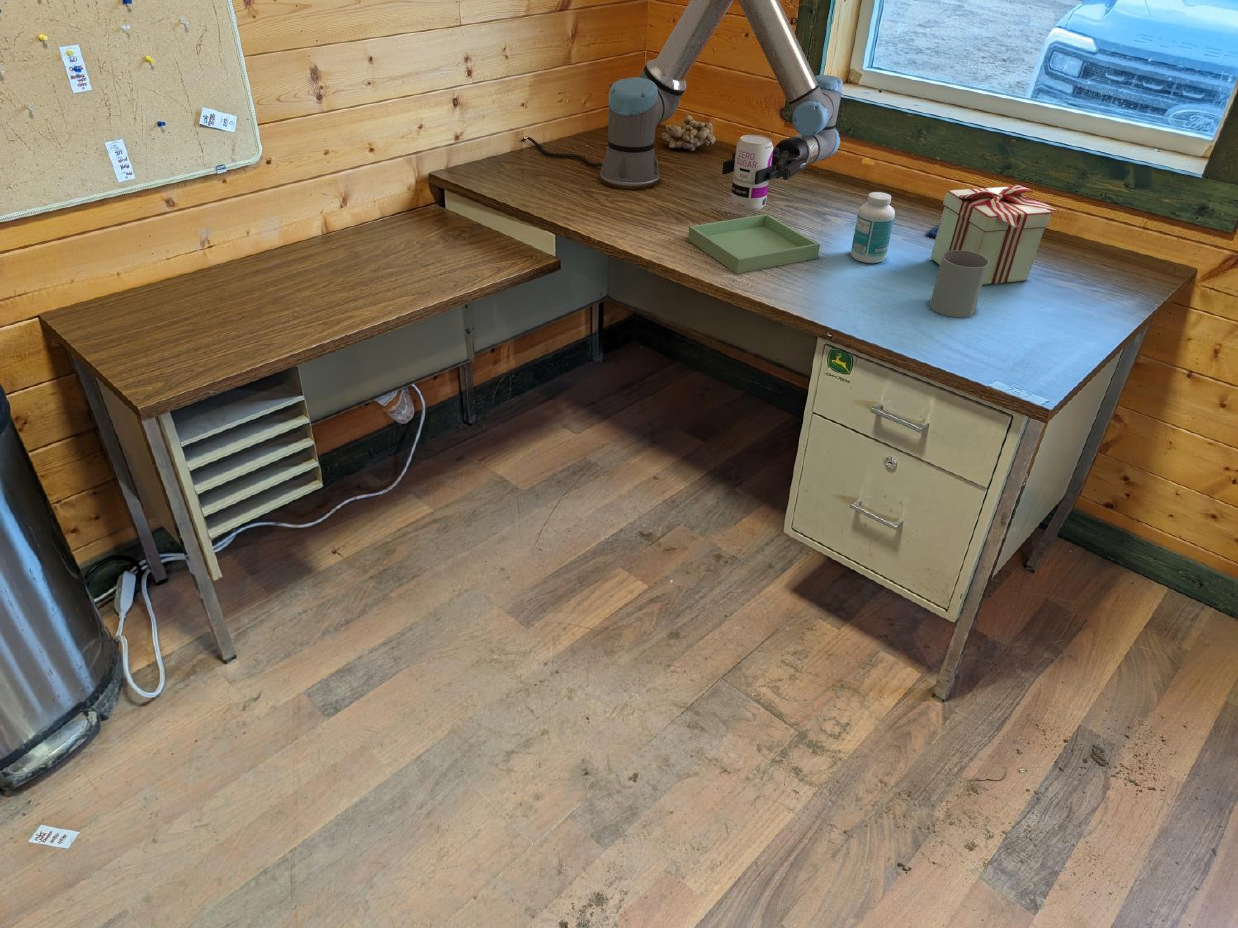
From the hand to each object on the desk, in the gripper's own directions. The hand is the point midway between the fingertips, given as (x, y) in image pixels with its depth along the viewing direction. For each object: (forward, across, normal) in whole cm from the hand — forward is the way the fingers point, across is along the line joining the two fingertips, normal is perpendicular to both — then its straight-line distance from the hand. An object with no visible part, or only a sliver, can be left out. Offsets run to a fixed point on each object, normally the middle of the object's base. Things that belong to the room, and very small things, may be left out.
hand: (740, 173), depth 197 cm
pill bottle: (-4, -32, -11) cm, 34 cm away
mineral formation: (-38, +43, -12) cm, 59 cm away
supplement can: (-5, 0, -9) cm, 10 cm away
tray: (+10, -12, -11) cm, 19 cm away
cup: (+6, -56, -11) cm, 57 cm away
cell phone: (-33, -39, -11) cm, 52 cm away
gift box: (-15, -54, -11) cm, 57 cm away
